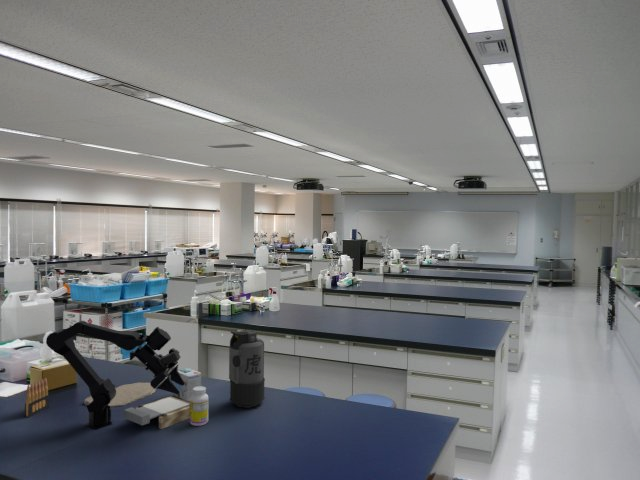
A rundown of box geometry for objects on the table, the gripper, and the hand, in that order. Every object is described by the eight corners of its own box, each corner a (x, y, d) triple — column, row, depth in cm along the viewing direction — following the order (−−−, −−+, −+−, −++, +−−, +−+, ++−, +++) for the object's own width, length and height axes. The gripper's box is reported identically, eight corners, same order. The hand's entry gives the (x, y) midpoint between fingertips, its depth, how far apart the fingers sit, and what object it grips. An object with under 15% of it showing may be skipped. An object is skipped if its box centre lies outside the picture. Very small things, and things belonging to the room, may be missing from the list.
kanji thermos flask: (270, 405, 195) (271, 331, 195) (238, 412, 187) (239, 335, 187) (255, 394, 207) (255, 325, 206) (223, 401, 199) (224, 329, 198)
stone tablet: (80, 404, 194) (80, 398, 194) (141, 384, 220) (141, 379, 220) (106, 413, 186) (106, 407, 186) (166, 391, 212) (166, 385, 212)
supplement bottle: (192, 418, 180) (193, 385, 180) (210, 419, 180) (210, 385, 180) (187, 426, 174) (187, 391, 173) (205, 426, 174) (205, 391, 173)
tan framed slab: (161, 429, 171) (161, 415, 171) (135, 418, 180) (135, 405, 180) (196, 415, 184) (196, 403, 184) (170, 406, 193) (170, 394, 193)
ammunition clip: (28, 417, 180) (28, 385, 179) (24, 417, 180) (24, 385, 180) (49, 407, 190) (49, 377, 190) (45, 406, 190) (45, 376, 190)
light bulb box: (173, 395, 205) (174, 370, 205) (187, 392, 210) (188, 367, 210) (187, 402, 198) (187, 376, 197) (201, 398, 203) (201, 372, 202)
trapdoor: (143, 425, 167) (143, 417, 167) (123, 417, 174) (123, 409, 174) (189, 408, 183) (189, 401, 183) (169, 401, 190) (169, 394, 190)
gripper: (159, 350, 166) (192, 381, 167) (172, 337, 185) (201, 366, 186) (136, 373, 166) (169, 404, 167) (151, 358, 184) (180, 386, 185)
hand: (181, 388), depth 176 cm, fingers open, 9 cm apart
